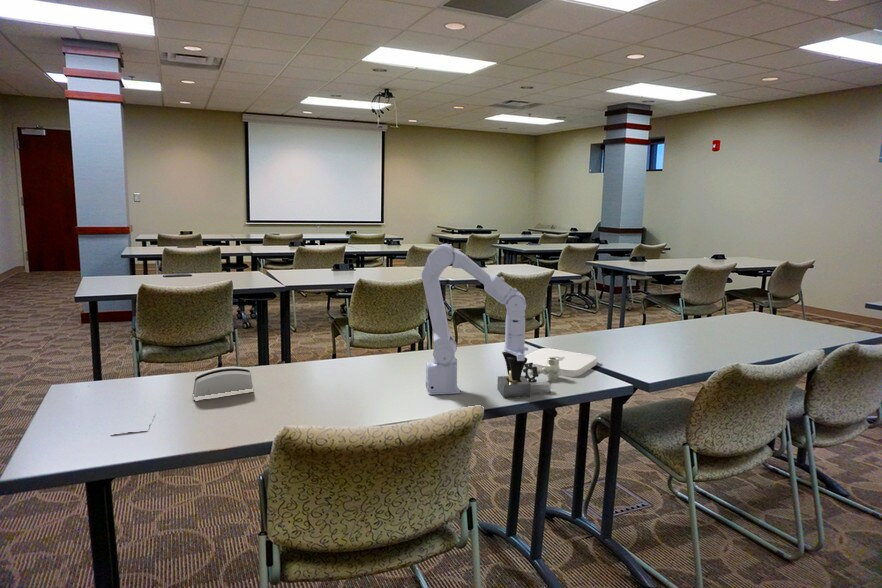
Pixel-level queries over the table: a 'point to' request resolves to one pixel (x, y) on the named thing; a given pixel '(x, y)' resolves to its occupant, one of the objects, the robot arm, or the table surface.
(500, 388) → the grey socket block
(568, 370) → the computer
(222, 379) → the grey rounded block
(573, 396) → the table surface
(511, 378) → the brass pin
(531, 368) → the valve
